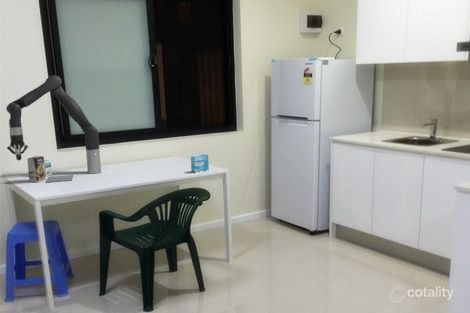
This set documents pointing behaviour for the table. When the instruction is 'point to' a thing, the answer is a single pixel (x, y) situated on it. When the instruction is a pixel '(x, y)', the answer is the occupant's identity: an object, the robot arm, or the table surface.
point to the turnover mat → (59, 178)
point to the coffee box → (36, 169)
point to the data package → (199, 163)
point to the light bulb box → (47, 167)
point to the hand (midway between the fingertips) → (19, 160)
